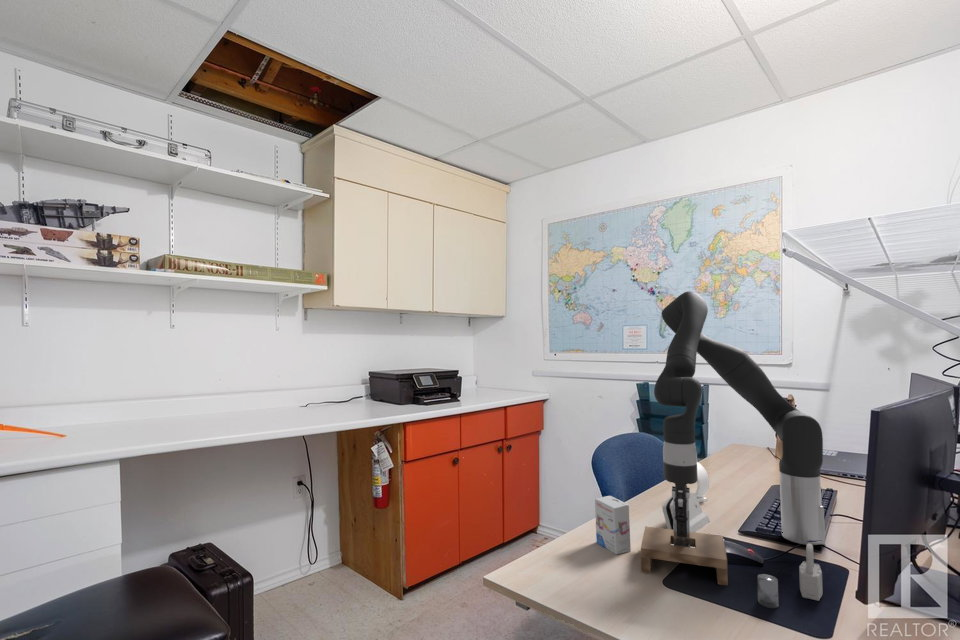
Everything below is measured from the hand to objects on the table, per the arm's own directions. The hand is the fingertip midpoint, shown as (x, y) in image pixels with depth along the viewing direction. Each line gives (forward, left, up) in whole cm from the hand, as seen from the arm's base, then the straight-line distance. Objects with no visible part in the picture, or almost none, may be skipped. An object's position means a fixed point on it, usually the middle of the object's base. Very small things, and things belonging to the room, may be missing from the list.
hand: (682, 532), depth 119 cm
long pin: (0, 0, -6) cm, 6 cm away
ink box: (+17, -5, -8) cm, 19 cm away
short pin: (-16, +12, -7) cm, 21 cm away
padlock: (-25, +4, -8) cm, 27 cm away
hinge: (0, -26, -8) cm, 28 cm away
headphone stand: (-4, -51, -8) cm, 52 cm away
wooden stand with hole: (0, 0, -7) cm, 7 cm away
